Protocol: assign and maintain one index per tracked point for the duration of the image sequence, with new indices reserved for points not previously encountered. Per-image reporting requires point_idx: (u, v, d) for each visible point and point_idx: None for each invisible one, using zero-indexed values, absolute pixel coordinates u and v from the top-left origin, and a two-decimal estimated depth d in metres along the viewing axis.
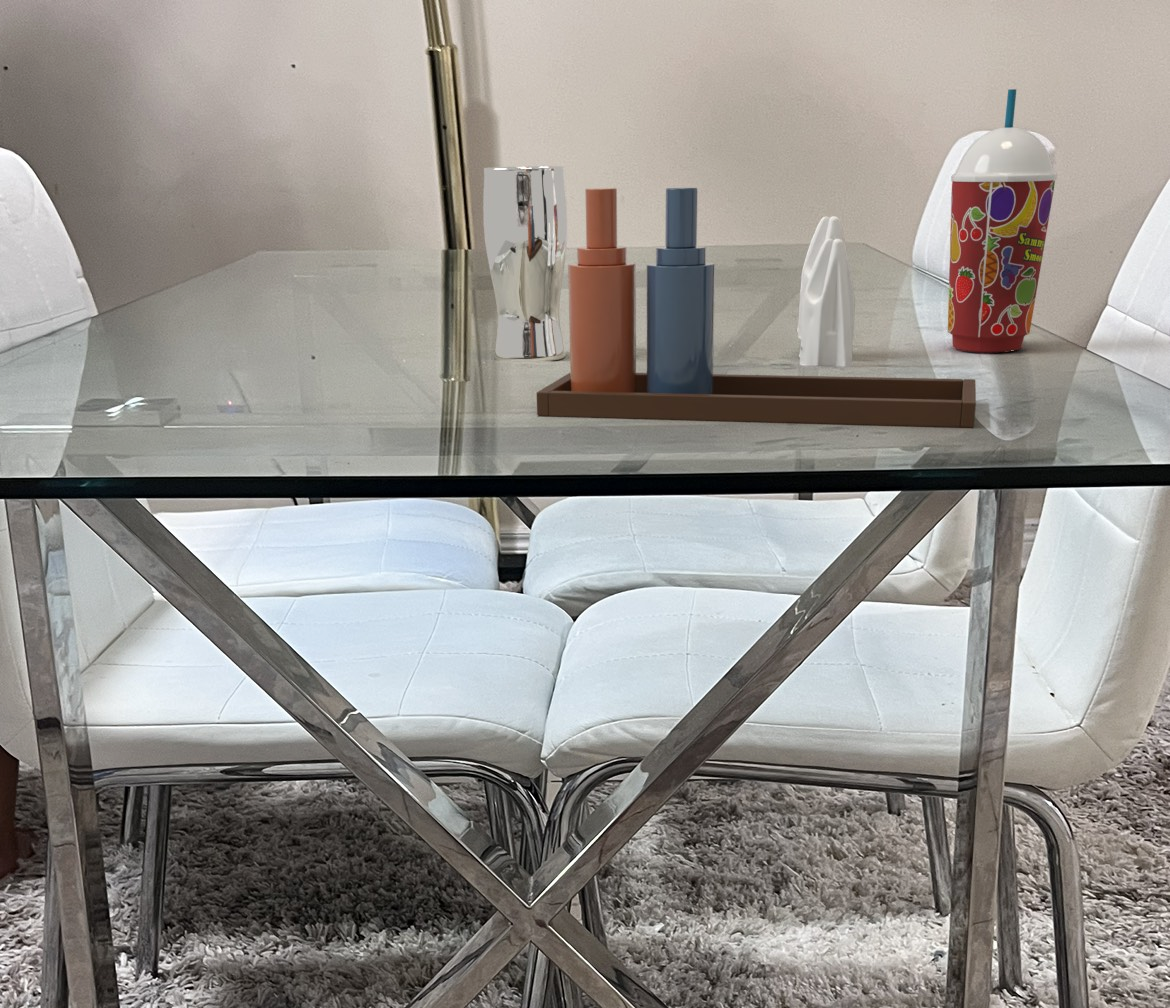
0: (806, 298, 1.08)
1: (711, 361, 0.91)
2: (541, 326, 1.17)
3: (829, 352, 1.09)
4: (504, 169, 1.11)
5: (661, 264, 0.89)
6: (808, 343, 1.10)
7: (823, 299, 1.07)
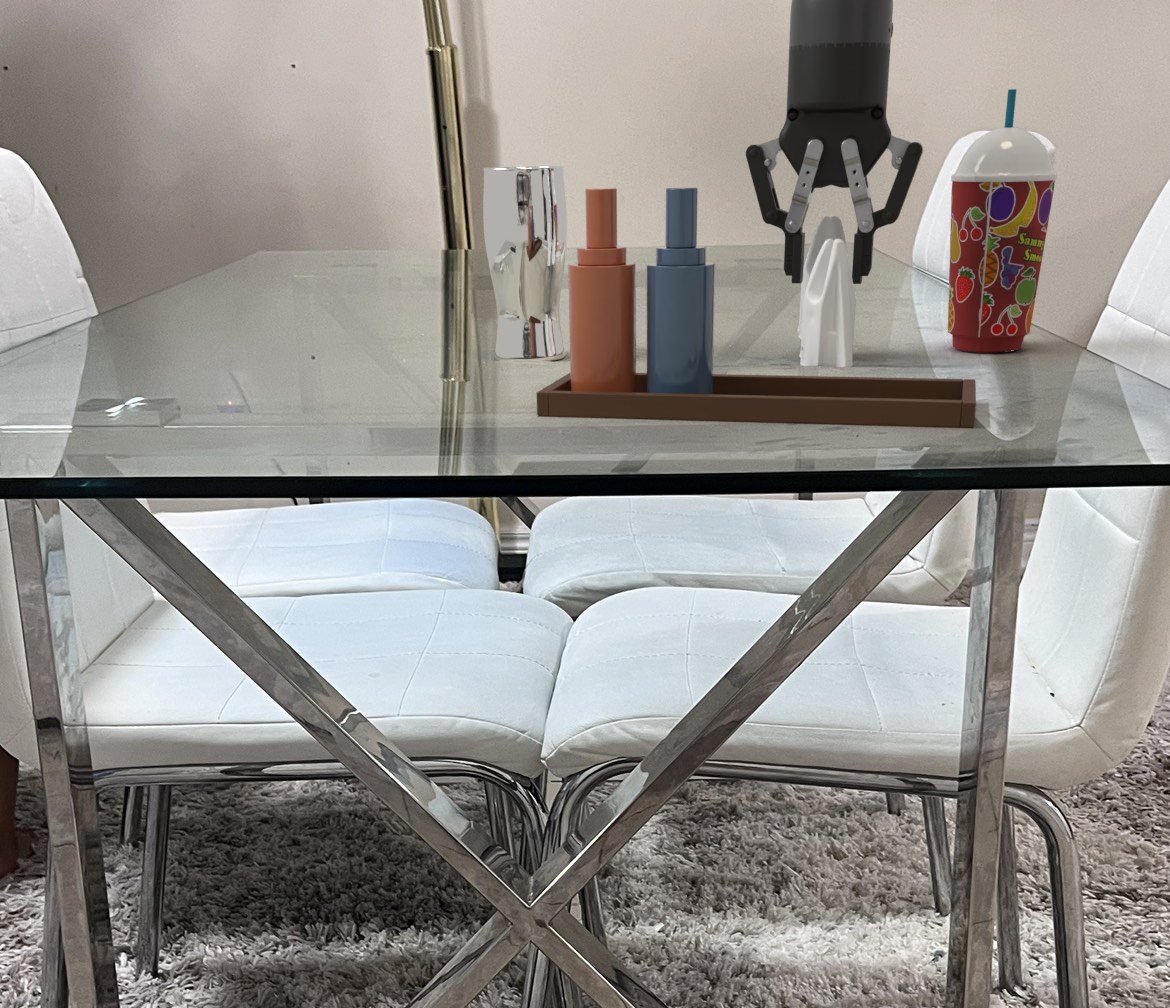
0: (806, 298, 1.08)
1: (711, 361, 0.91)
2: (541, 326, 1.17)
3: (829, 352, 1.09)
4: (504, 169, 1.11)
5: (661, 264, 0.89)
6: (808, 343, 1.10)
7: (823, 299, 1.07)
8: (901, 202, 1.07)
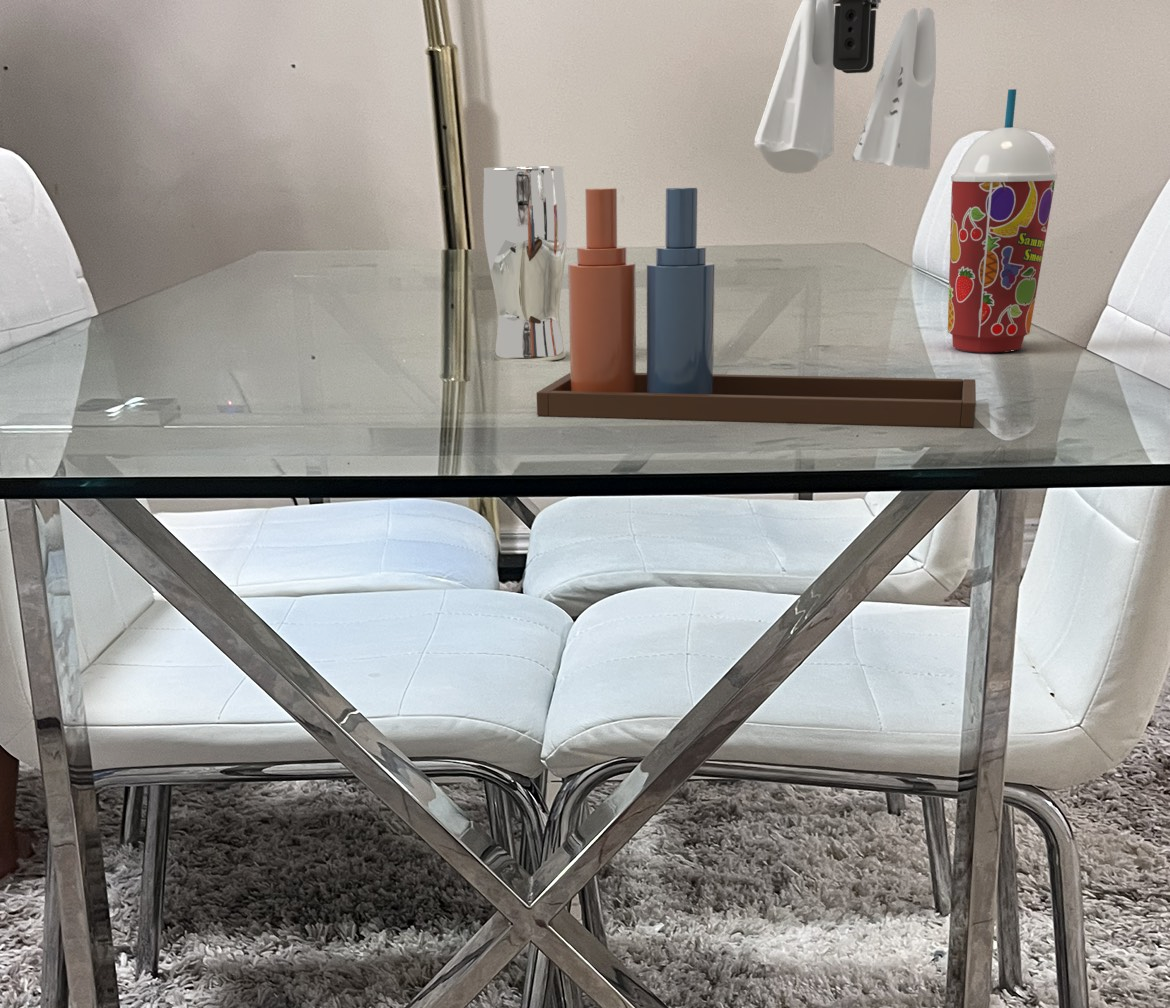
0: (912, 81, 0.92)
1: (711, 361, 0.91)
2: (541, 326, 1.17)
3: None
4: (504, 169, 1.11)
5: (661, 264, 0.89)
6: (911, 136, 0.94)
7: (934, 79, 0.93)
8: None
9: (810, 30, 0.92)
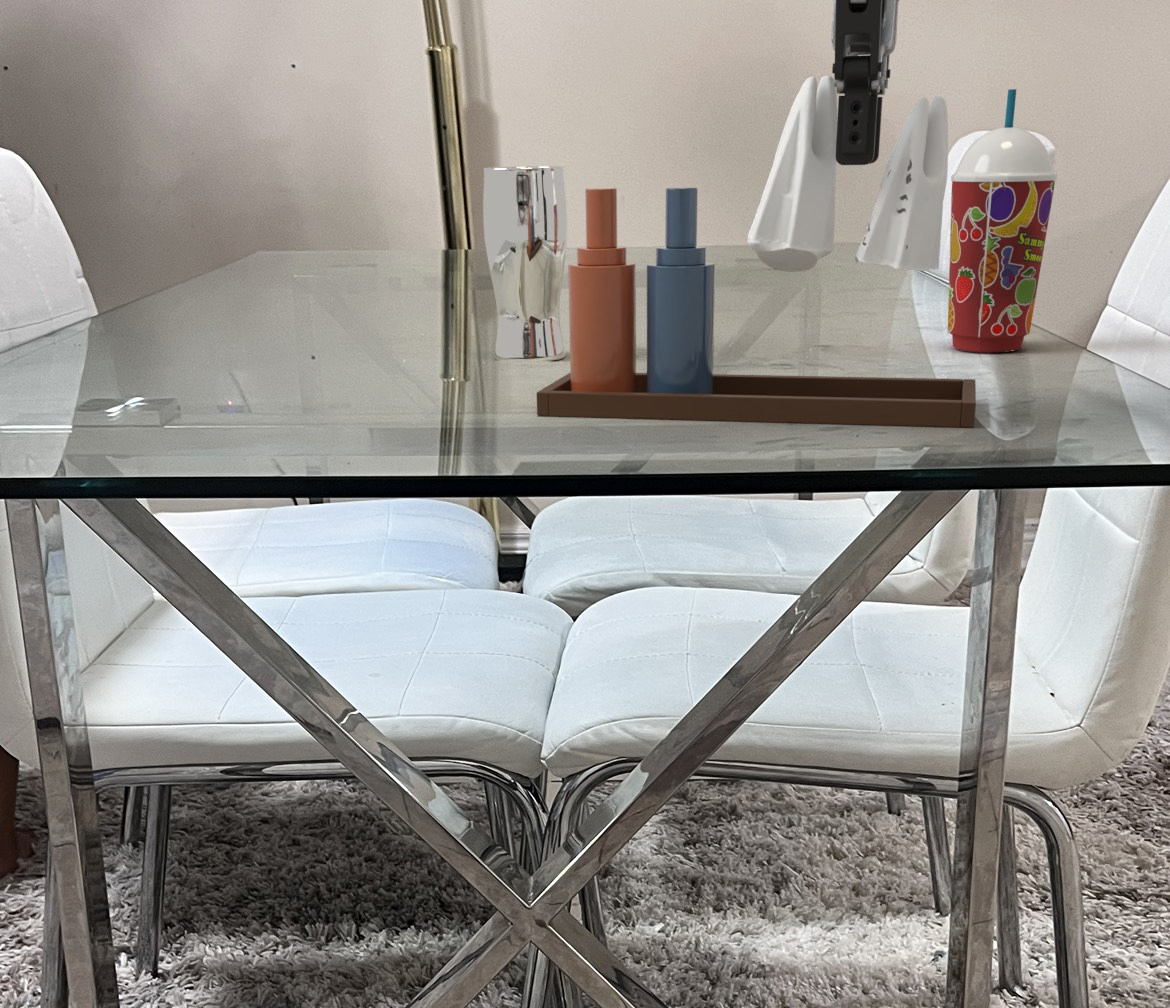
0: (922, 177, 0.83)
1: (711, 361, 0.91)
2: (541, 326, 1.17)
3: None
4: (504, 169, 1.11)
5: (661, 264, 0.89)
6: (920, 237, 0.85)
7: (946, 175, 0.84)
8: None
9: (810, 120, 0.83)
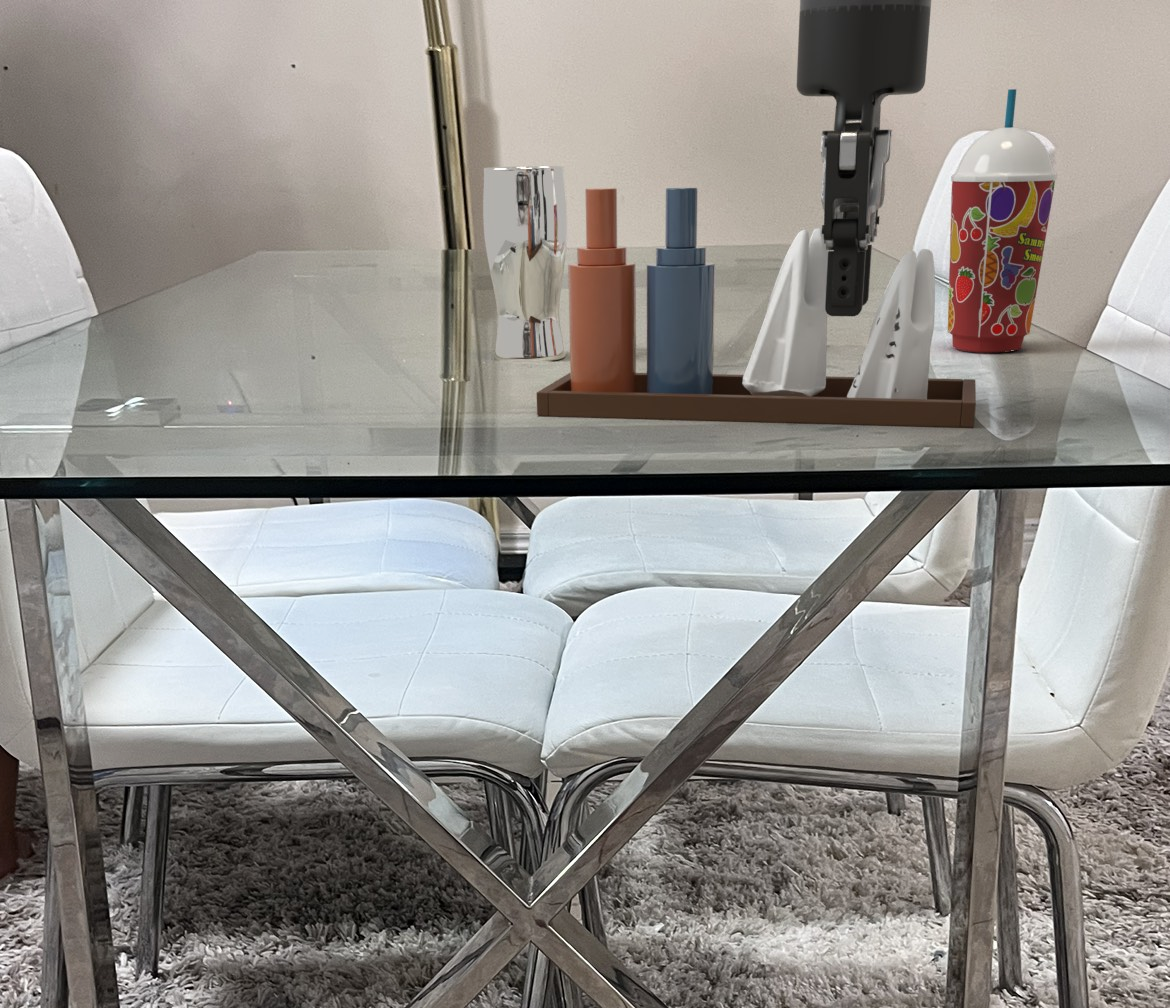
0: (910, 326, 0.87)
1: (711, 361, 0.91)
2: (541, 326, 1.17)
3: None
4: (504, 169, 1.11)
5: (661, 264, 0.89)
6: (908, 380, 0.88)
7: (933, 322, 0.88)
8: None
9: (802, 271, 0.87)
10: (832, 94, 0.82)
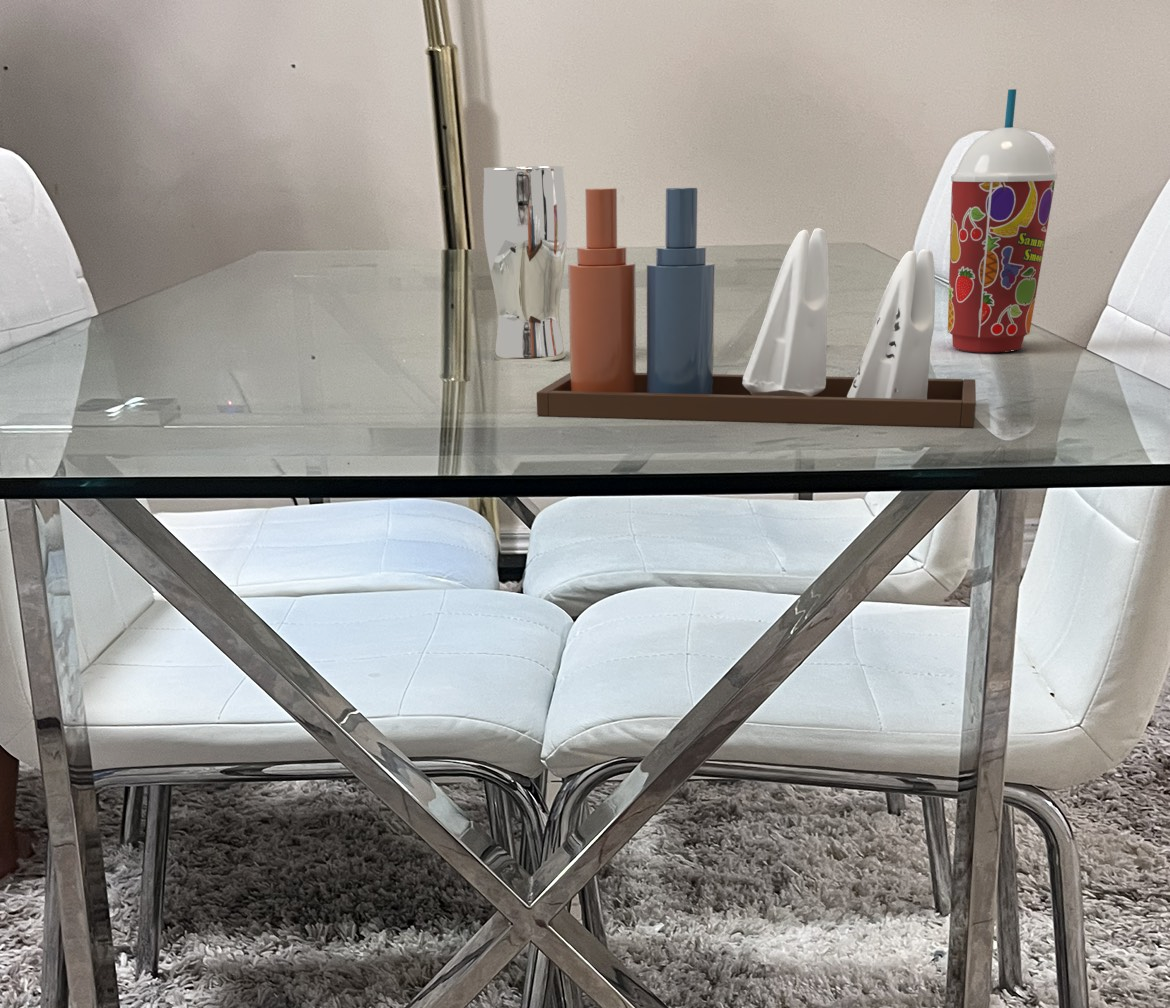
0: (910, 326, 0.87)
1: (711, 361, 0.91)
2: (541, 326, 1.17)
3: None
4: (504, 169, 1.11)
5: (661, 264, 0.89)
6: (908, 380, 0.88)
7: (933, 322, 0.88)
8: None
9: (802, 271, 0.87)
10: None
